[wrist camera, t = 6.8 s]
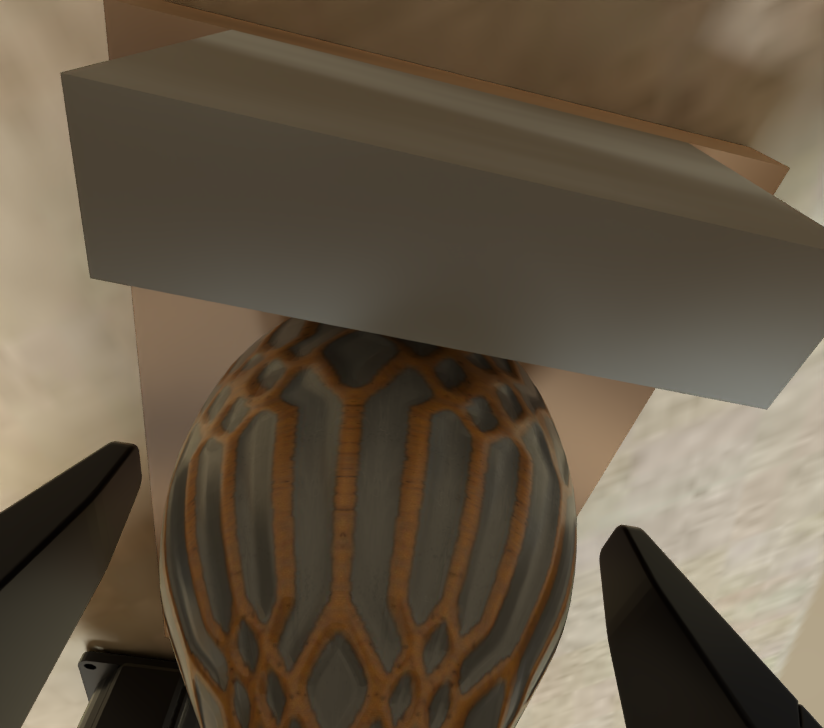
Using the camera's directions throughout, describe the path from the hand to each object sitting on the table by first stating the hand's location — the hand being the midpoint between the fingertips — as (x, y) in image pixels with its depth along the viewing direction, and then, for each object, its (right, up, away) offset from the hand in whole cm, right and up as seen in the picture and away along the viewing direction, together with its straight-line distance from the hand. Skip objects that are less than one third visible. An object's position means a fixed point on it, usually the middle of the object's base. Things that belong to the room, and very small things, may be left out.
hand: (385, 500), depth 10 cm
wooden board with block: (-1, 0, +6) cm, 6 cm away
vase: (0, +2, +3) cm, 4 cm away
